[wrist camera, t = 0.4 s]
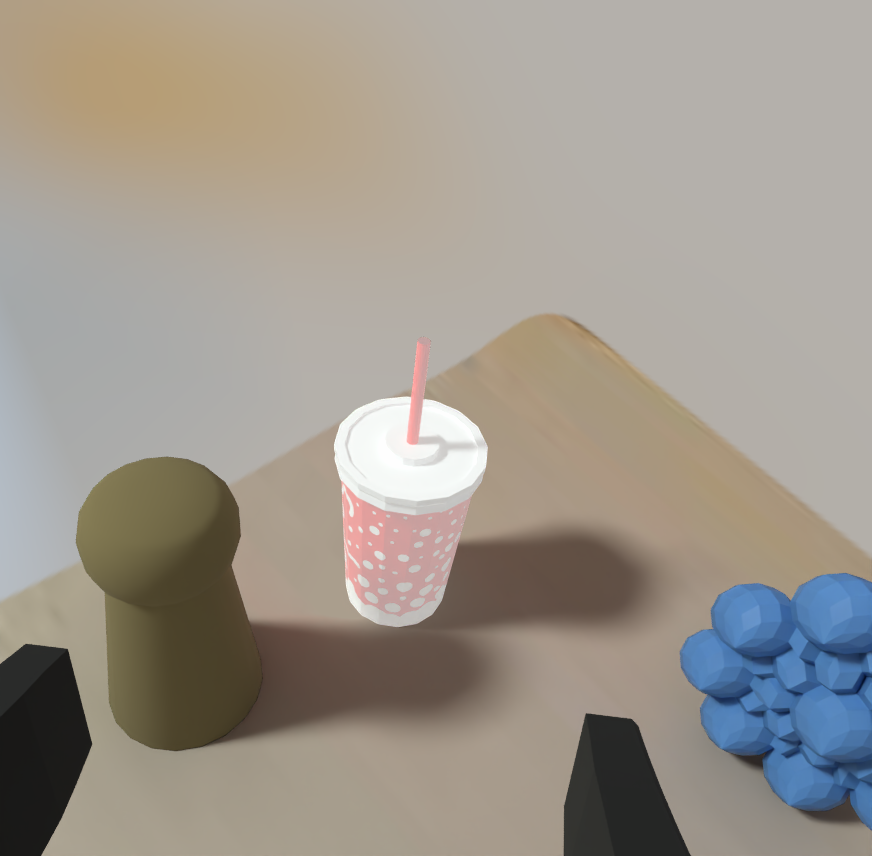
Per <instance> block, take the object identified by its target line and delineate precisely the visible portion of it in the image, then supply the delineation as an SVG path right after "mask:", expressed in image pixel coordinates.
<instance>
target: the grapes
mask: <svg viewBox="0 0 872 856" xmlns="http://www.w3.org/2000/svg"><path fill="white" fill-rule="evenodd" d="M711 619H712V627H713V629H709V630H701V631H699V632H697V633H696V634H694V635H692V636H690V637H688V638H687V639H686V641H685V643H684V645H683V647H682V648H681V650H680V662H681V669H682V670H683V672H684V674H685V676H686V678H687V679H688V681H689V682H690V683H691V684H692V685H693V686H694V687H695V688H696V689H698V690H699V691H701V692H702V693H705V694H708V695H707V696H706V698H705V700H704V702H703V703H702V705H701V707H700V713H701V724H702V726H703V728H704V729H705V731H706V733H707V735H708V737H709V738H710V739H711V740H712V741H713V742H714V744H715V745H716V746H717V747H719V748H721V749H722V750H724V751H726V752H729V753H733V754H737V755H760V754H762V753H764V752H766V751H767V752H766V754H765V756H764V757H763V759H762V760H763V769H764V776H765V778H766V780H767V782H768V783H769V785H770V787H771V788H772V790H773V792H774V793H775V794H776V795H777V796H778V797H779V798H780V799H781V800H782V801H783V802H785V803H786V804H788V805H789V806H791V807H794V808H798V809H802V810H806V811H828V810H830V809H832V808H835V807H837V806H839V805H842V804H844V803H845V801H846V799H847V797H848V796H849V794H850V801H851V806H852V807H853V809H854V810H855V812H856V813H857V815H858V816H859V818H860V819H861V821H862V822H863V823H864V824H865V825H866V826H867V827H868V828H869V829H870V830H872V582H870V581H867V580H865V579H863V578H860V577H857V576H854V575H850V574H847V573H840V574H827V575H821V576H817V577H815V578H813V579H812V580H810V581H808V582H806V583H804V584H802V585H800V586H799V587H798V589H797V591H796V592H795V594H794V596H793V598H792V600H791V601H790V599H789V598H788V597H787V596H786V595H785V594H784V593H782V592H780V591H778V590H777V589H775V588H773V587H769V586H766V585H763V584H759V583H756V584H742V585H737V586H734V587H732V588H730V589H729V590H727V591H725V592H723V593H721V594H720V595H718V597H717V599H716V601H715V603H714V605H713V606H712V608H711Z"/></svg>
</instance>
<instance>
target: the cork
mask: <svg viewBox="0 0 872 856" xmlns="http://www.w3.org/2000/svg"><path fill="white" fill-rule="evenodd" d="M240 537H241V533H240V518H239V507H238V505H237V503H236V501H235V498H234V496H233V495H232V493H231V491H230V490H229V488H228V486H227V485H226V483H225V482H224V481H223V480H222V479H220V478H219V477H218V476H217V475H215V474H214V473H213V472H212V471H210V470H209V469H208V468H206V467H205V466H204V465H201V464H198V463H196V462H193V461H191V460H188V459H182V458H174V457H158V458H147V459H143V460H140V461H136V462H133V463H129V464H126V465H124V466H123V467H120V468H119V469H117V470H115V471H113V472H111V473H109V474H108V475H107V476H106V477H104V478H103V479H102V480H101V481H100V482H99V483H98V484H97V485H96V486H95V487H94V488H93V489H92V491H91V492H90V494H89V495H88V497H87V499H86V501H85V502H84V504H83V506H82V508H81V509H80V511H79V517H78V526H77V535H76V544H77V548H78V551H79V554H80V557H81V560H82V562H83V565H84V568H85V570H86V572H87V574H88V575H89V576H90V577H91V578H92V580H93V581H94V582H95V583H96V584H97V585H98V586H99V587H100V588H101V589H102V590H103V591H104V592H105V610H106V635H107V660H108V685H109V704H110V706H111V709H112V712H113V715H114V718H115V721H116V723H117V724H118V725H119V726H120V727H121V728H122V729H123V730H124V731H125V733H126V734H127V735H128V736H129V737H130V738H132V739H134V740H136V741H138V742H140V743H142V744H144V745H146V746H148V747H150V748H156V749H164V750H173V751H178V750H184V749H190V748H195V747H201V746H204V745H206V744H208V743H210V742H212V741H214V740H216V739H218V738H220V737H223V736H225V735H226V734H227V733H228V732H230V731H231V730H232V729H233V728H234V727H235V726H237V725H238V724H239V723H240V722H241V721H242V720H244V719H245V717H246V716H247V714H248V712H249V711H250V709H251V708H252V706H253V705H254V703H255V702H256V700H257V698H258V694H259V690H260V686H261V682H262V679H263V678H262V668H261V659H260V656H259V652H258V649H257V646H256V643H255V640H254V636H253V633H252V630H251V627H250V624H249V620H248V617H247V614H246V611H245V607H244V604H243V601H242V598H241V595H240V591H239V588H238V585H237V582H236V579H235V575H234V572H233V569H232V566H231V564H232V561H233V558H234V555H235V553H236V550H237V546H238V543H239V540H240Z"/></svg>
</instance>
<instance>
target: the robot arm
mask: <svg viewBox="0 0 872 856" xmlns="http://www.w3.org/2000/svg"><path fill="white" fill-rule="evenodd" d="M91 746H92V741H91V737H90V734H89V730H88V726H87V722H86V718H85V714H84V710H83V706H82V703H81V699H80V695H79V691H78V687H77V683H76V679H75V675H74V671H73V668H72V664H71V660H70V656H69V652H68V649H64V648H56V647H48V646H40V645H32V644H25V645H24V646H23V647H21V648H20V649H19V650H17V651H16V652H15V653H14V654H12V655H11V656H10V657H9V658H7V659H6V660H5V661H3V662H2V663H1V664H0V856H41V855H42V853H43V851H44V849H45V848H46V846H47V844H48V842H49V840H50V838H51V837H52V835H53V833H54V831H55V829H56V827H57V826H58V824H59V822H60V820H61V818H62V816H63V814H64V811H65V809H66V807H67V804H68V802H69V800H70V797H71V795H72V793H73V791H74V788H75V786H76V784H77V781H78V779H79V776H80V774H81V771H82V769H83V766H84V764H85V761H86V759H87V756H88V754H89V751H90V749H91ZM564 856H691V855H690V853H689V851H688V849H687V847H686V845H685V842H684V840H683V838H682V836H681V833H680V831H679V829H678V827H677V824H676V822H675V820H674V817H673V815H672V813H671V810H670V808H669V806H668V803H667V801H666V799H665V796H664V794H663V791H662V789H661V787H660V784H659V782H658V779H657V777H656V774H655V771H654V769H653V766H652V764H651V761H650V758H649V756H648V753H647V750H646V747H645V745H644V742H643V739H642V736H641V733H640V730H639V727H638V725H637V724H636V723H635V722H634V721H633V720H632V719H627V718H619V717H611V716H603V715H595V714H587V713H586V715H585V719H584V724H583V728H582V732H581V736H580V741H579V745H578V749H577V754H576V758H575V762H574V766H573V771H572V775H571V779H570V784H569V788H568V792H567V796H566V801H565V805H564Z"/></svg>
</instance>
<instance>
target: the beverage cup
mask: <svg viewBox="0 0 872 856" xmlns="http://www.w3.org/2000/svg"><path fill="white" fill-rule="evenodd" d="M430 343H431V340H430V339H429V338H426V337H421V338H419V339H418V342H417V351H416V360H415V369H414V378H413V387H412V396H411V397H399V398H389V399H380V400H377V401H375V402H372V403H370V404H367V405H365V406H362V407H360V408H357V409H356V410H355V411H354V412H353V413H352V414H350V415H349V416H348V417H347V418H346V419H345V420H344V421H343V422H342V423H341V424H340V427H339V430H338V433H337V436H336V439H335V443H334V451H335V454H336V455H335V462H336V466H337V469H338V473H339V476H340V479H341V480H342V502H343V525H344V548H345V571H346V587H347V591H348V595H349V599H350V602H351V603H352V604H353V606H354V607H355V608H356V609H357V610H358V612H359V613H360V614H361V615H362V616H364V617H366V618H368V619H370V620H371V621H373V622H375V623H377V624H381V625H387V626H394V627H402V626H407V625H412V624H417V623H419V622H421V621H422V620H424V619H426V618H427V617H429V616H431V615H432V614H433V613H434V611H435V610H436V609H437V607H438V606H439V604H440V603H441V601H442V598H443V595H444V591H445V588H446V584H447V581H448V577H449V574H450V570H451V567H452V563H453V560H454V556H455V553H456V549H457V546H458V542H459V539H460V535H461V532H462V528H463V525H464V521H465V517H466V514H467V510H468V507H469V503H470V500H471V496H472V494H473V493H474V491H475V490H476V489H477V487H478V486H479V485H480V483H481V482H482V478H483V474H484V472H485V469H486V459H487V448H488V446H487V444H486V442H485V440H484V438H483V436H482V434H481V432H480V430H479V428H478V427H477V426H476V425H475V424H474V423H473V422H471V421H470V420H469V419H468V418H467V417H466V416H464V415H463V414H462V413H461V412H460V411H457V410H455V409H453V408H450V407H448V406H446V405H443V404H441V403H439V402H436V401H433V400H426V399H424V392H425V384H426V376H427V368H428V360H429V352H430Z"/></svg>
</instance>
